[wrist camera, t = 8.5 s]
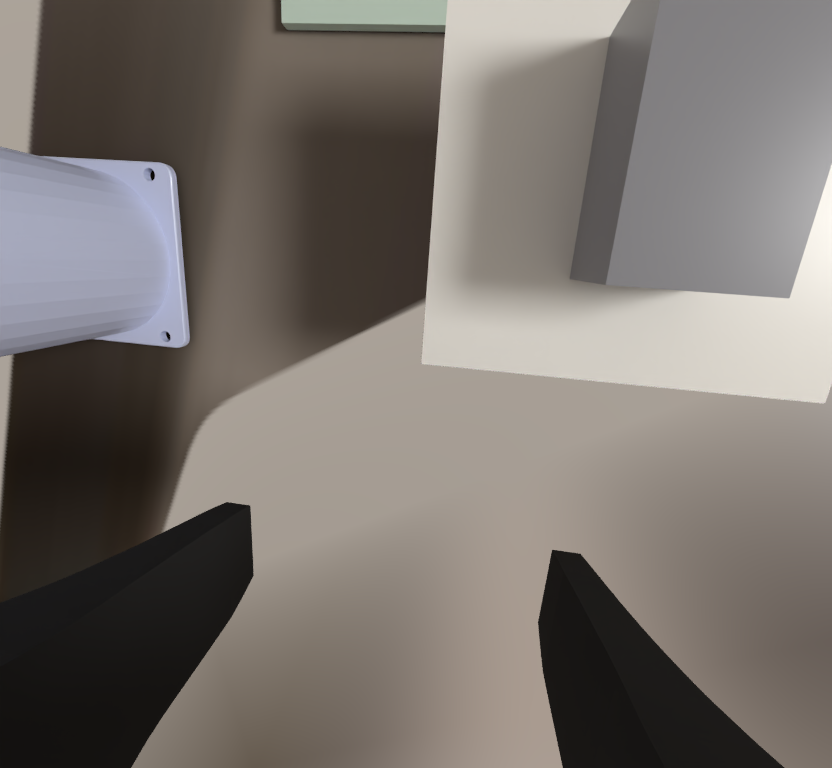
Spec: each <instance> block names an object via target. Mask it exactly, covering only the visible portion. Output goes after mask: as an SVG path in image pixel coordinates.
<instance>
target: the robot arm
mask: <svg viewBox="0 0 832 768" xmlns="http://www.w3.org/2000/svg"><path fill="white" fill-rule="evenodd" d="M152 170H153V171H154V173H155V178H154V180H153V181H152V180H151V177H150V174H151V172H152ZM166 332H168V333H169V334H170V337H171V338H170V340H169V339H168V338H167V336H166ZM88 339H98V340H107V341H117V342H126V343H136V344H145V345H155V346H165V347H174V348H179V347H184V346H186V345H187V344H188V343H189V339H190V335H189V323H188V311H187V299H186V287H185V275H184V263H183V251H182V239H181V226H180V214H179V202H178V190H177V178H176V174H175V171H174V170H173V168H172V167H170V166H169V165H166V164H163V163H159V162H140V161H121V160H103V159H84V158H65V157H46V156H36V155H32V154H28V153H24V152H20V151H16V150H12V149H8V148H3V147H0V357H1V356H6V355H11V354H16V353H21V352H27V351H32V350H37V349H42V348H47V347H52V346H57V345H62V344H67V343H72V342H77V341H82V340H88ZM252 577H253V555H252V534H251V512H250V506H249V505H242V504H235V503H228V502H226V503H224V504H222V505H220V506H217V507H215V508H212V509H210V510H208V511H206V512H204V513H202V514H200V515H198V516H196V517H194V518H192V519H190V520H188V521H186V522H184V523H182V524H180V525H178V526H175V527H173V528H171V529H170V530H167V531H165V532H163V533H161V534H159V535H157V536H155V537H153V538H151V539H149V540H147V541H145V542H143V543H141V544H139V545H137V546H135V547H133V548H130V549H128V550H126V551H124V552H122V553H120V554H117V555H115V556H113V557H111V558H109V559H106V560H104V561H102V562H100V563H98V564H95V565H93V566H91V567H89V568H87V569H84V570H82V571H80V572H78V573H75V574H73V575H71V576H68V577H66V578H63V579H61V580H59V581H56V582H54V583H51V584H49V585H46V586H44V587H41V588H38V589H36V590H33V591H31V592H28V593H25V594H23V595H20V596H18V597H15V598H12V599H10V600H7V601H4V602H1V603H0V768H131V767H132V765H133V763H134V762H135V760H136V758H137V757H138V755H139V753H140V752H141V750H142V748H143V746H144V745H145V743H146V741H147V739H148V738H149V736H150V735H151V733H152V732H153V730H154V729H155V727H156V726H157V724H158V723H159V721H160V720H161V718H162V717H163V715H164V714H165V712H166V711H167V709H168V708H169V706H170V705H171V703H172V702H173V701H174V699H175V698H176V696H177V695H178V693H179V692H180V691H181V689H182V688H183V686H184V685H185V683H186V682H187V681H188V679H189V677H190V676H191V675H192V673H193V672H194V671H195V669H196V668H197V666H198V665H199V663H200V662H201V660H202V659H203V658H204V656H205V655H206V653H207V652H208V650H209V649H210V648H211V646H212V645H213V643H214V642H215V640H216V639H217V637H218V636H219V634H220V633H221V631H222V630H223V629H224V627H225V626H226V624H227V623H228V621H229V620H230V618H231V617H232V615H233V613H234V611H235V609H236V608H237V606H238V604H239V602H240V600H241V599H242V597H243V595H244V593H245V591H246V589H247V587H248V585H249V583H250V581H251V579H252ZM538 625H539V637H540V648H541V657H542V667H543V674H544V679H545V683H546V689H547V694H548V699H549V704H550V708H551V713H552V718H553V723H554V728H555V732H556V737H557V741H558V747H559V751H560V756H561V761H562V765H563V768H784V767H783V766H782V765H781V764H779V763H778V762H777V761H776V760H775V759H774V758H773V757H771V756H770V755H769V754H768V753H767V752H766V751H765V750H764V749H763V748H761V747H760V746H759V745H758V744H757V743H756V742H755V741H754V740H753V739H751V738H750V737H749V736H748V735H747V734H746V733H745V732H744V731H743V730H742V729H741V728H740V727H739V726H738V725H737V724H735V723H734V722H733V721H732V720H731V719H730V718H729V717H728V716H727V715H726V714H725V713H724V712H723V711H722V710H721V709H720V708H718V707H717V706H716V705H715V704H714V703H713V702H712V701H711V700H710V699H709V698H708V697H707V696H706V695H705V694H704V693H703V692H702V691H701V690H700V689H699V688H698V687H697V686H696V685H695V684H694V683H693V682H692V681H691V680H690V679H689V678H688V677H687V676H686V675H685V674H684V673H683V672H682V670H680V668H679V667H678V666H677V665H676V664H675V663H674V662H673V661H672V660H671V659H670V658H669V657H668V656H667V655H666V654H665V653H664V652H663V650H662V649H661V648H660V647H659V646H658V645H657V644H656V643H655V642H654V641H653V640H652V638H651V637H650V636H649V635H648V634H647V633H646V632H645V631H644V629H642V627H641V626H640V625H639V624H638V623H637V622H636V620H635V619H634V618H633V617H632V616H631V615H630V613H629V612H628V611H627V610H626V609H625V607H624V606H623V605H622V604H621V603H620V602H619V601H618V599H617V598H616V597H615V595H614V594H613V593H612V592H611V591H610V590H609V588H608V587H607V586H606V585H605V584H604V582H603V581H602V580H601V578H600V577H599V576H598V575H597V574H596V572H595V571H594V570H593V569H592V568H591V566H590V565H589V564H588V563H587V561H586V560H585V559H584V558H583V557H582V556H581V554H578V553H570V552H564V551H557V550H552V554H551V559H550V564H549V570H548V574H547V580H546V585H545V590H544V595H543V601H542V605H541V611H540V616H539V621H538Z"/></svg>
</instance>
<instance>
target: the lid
mask: <svg viewBox="0 0 832 768" xmlns="http://www.w3.org/2000/svg"><path fill="white" fill-rule="evenodd" d="M421 364H425V365H436V366H447V367H456V368H467V369H478V370H487V371H498V372H508V373H518V374H528V375H538V376H549V377H559V378H569V379H580V380H589V381H600V382H610V383H620V384H631V385H641V386H651V387H661V388H672V389H682V390H692V391H702V392H712V393H723V394H733V395H743V396H753V397H764V398H774V399H784V400H794V401H795V400H796V401H806V402H816V403H825V402H826V399H827V396H828V393H829V391H830V387H831V385H832V0H448V1H447V15H446V29H445V43H444V56H443V70H442V84H441V98H440V111H439V125H438V139H437V153H436V167H435V180H434V194H433V208H432V222H431V236H430V249H429V263H428V277H427V291H426V304H425V318H424V332H423V346H422V360H421Z"/></svg>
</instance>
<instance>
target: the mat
mask: <svg viewBox="0 0 832 768" xmlns="http://www.w3.org/2000/svg"><path fill="white" fill-rule="evenodd" d="M447 1H448V0H281V15H282V24H283V25H284V27H285V28H286V29H287V30H322V31H389V32H445V29H446V15H447Z"/></svg>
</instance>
